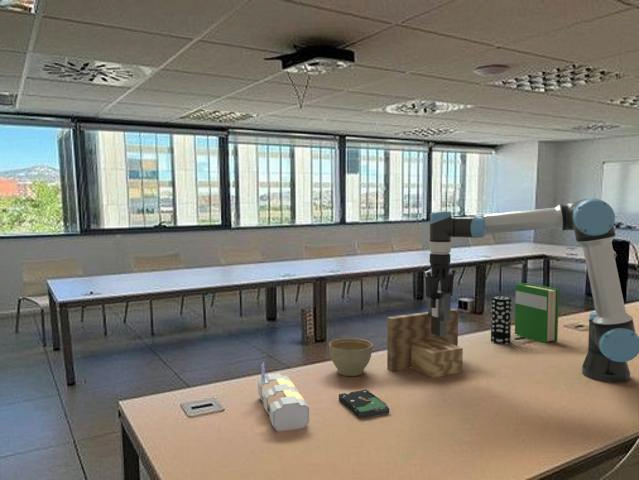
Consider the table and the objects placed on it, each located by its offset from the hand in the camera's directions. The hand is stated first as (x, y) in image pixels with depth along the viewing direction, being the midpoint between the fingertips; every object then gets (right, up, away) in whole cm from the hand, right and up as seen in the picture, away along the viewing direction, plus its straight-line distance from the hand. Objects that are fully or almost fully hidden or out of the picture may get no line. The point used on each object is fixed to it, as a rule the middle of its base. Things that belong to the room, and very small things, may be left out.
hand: (438, 315), depth 183 cm
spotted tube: (+37, -18, +39) cm, 57 cm away
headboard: (-1, -21, +4) cm, 21 cm away
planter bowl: (-33, -21, +1) cm, 39 cm away
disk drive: (-31, -24, -30) cm, 50 cm away
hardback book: (+56, -17, +45) cm, 74 cm away
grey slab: (0, -7, +1) cm, 7 cm away
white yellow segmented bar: (-56, -25, -33) cm, 70 cm away
